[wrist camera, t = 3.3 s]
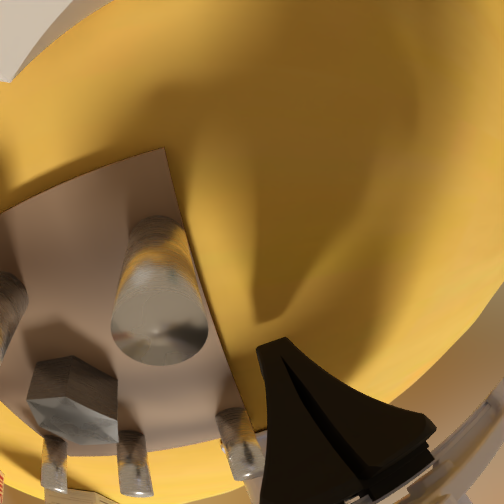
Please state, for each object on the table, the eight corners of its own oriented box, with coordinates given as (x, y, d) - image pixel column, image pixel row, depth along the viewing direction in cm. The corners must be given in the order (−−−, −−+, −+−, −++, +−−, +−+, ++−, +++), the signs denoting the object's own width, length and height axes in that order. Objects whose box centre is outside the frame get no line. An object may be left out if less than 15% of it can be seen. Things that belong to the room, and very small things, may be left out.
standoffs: (248, 417, 15) (271, 473, 11) (55, 446, 12) (53, 492, 8) (178, 207, 8) (192, 278, 5) (-71, 307, 5) (-102, 358, 2)
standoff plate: (250, 421, 17) (253, 428, 16) (70, 450, 14) (69, 456, 13) (164, 146, 8) (163, 148, 7) (-81, 270, 5) (-86, 276, 4)
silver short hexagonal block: (137, 402, 12) (140, 440, 10) (67, 412, 11) (64, 445, 9) (95, 350, 10) (89, 393, 8) (21, 364, 9) (10, 400, 7)
